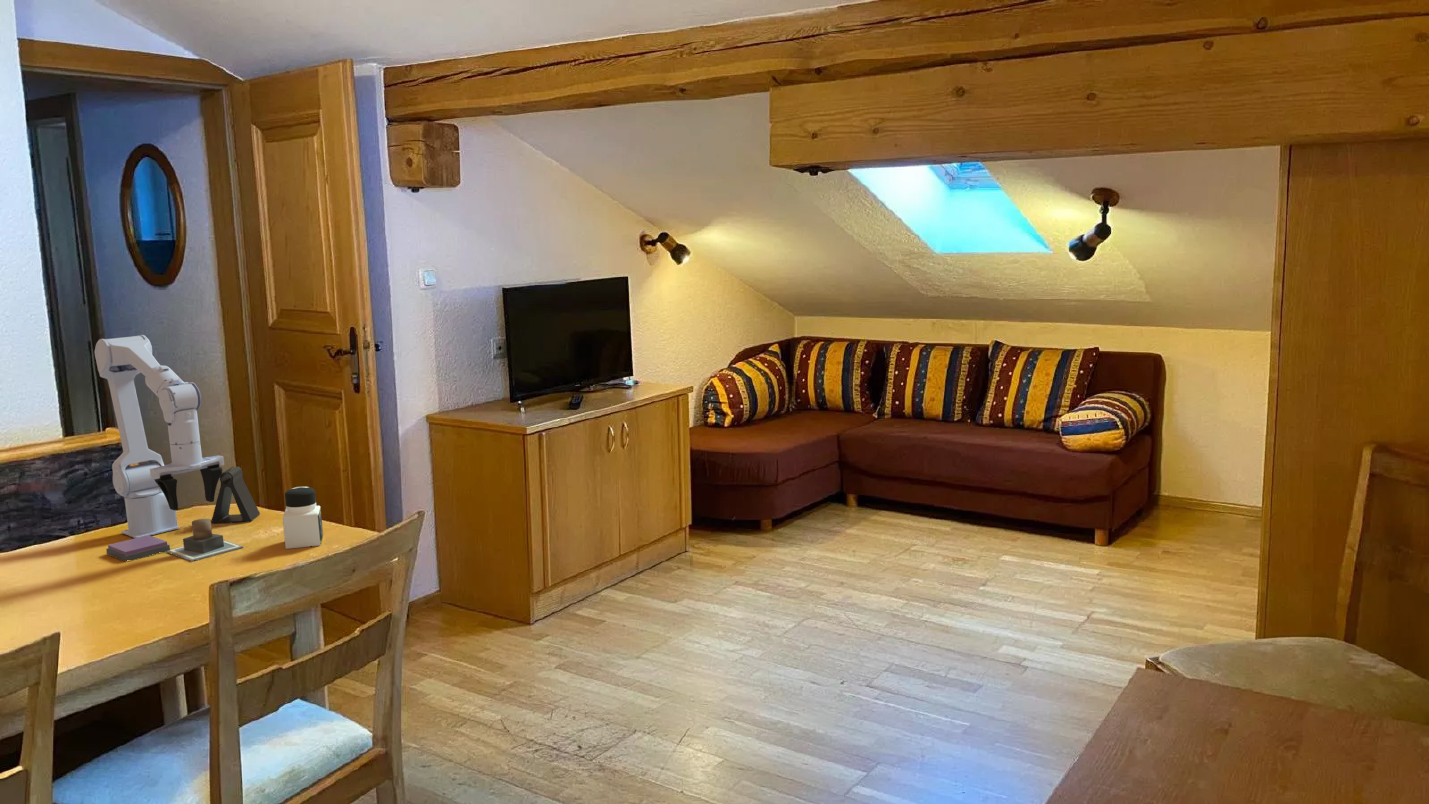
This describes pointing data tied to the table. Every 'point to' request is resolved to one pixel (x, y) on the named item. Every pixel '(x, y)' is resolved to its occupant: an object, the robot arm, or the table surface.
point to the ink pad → (137, 548)
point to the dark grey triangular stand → (243, 498)
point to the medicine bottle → (302, 519)
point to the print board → (197, 556)
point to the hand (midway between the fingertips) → (192, 505)
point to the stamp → (203, 538)
